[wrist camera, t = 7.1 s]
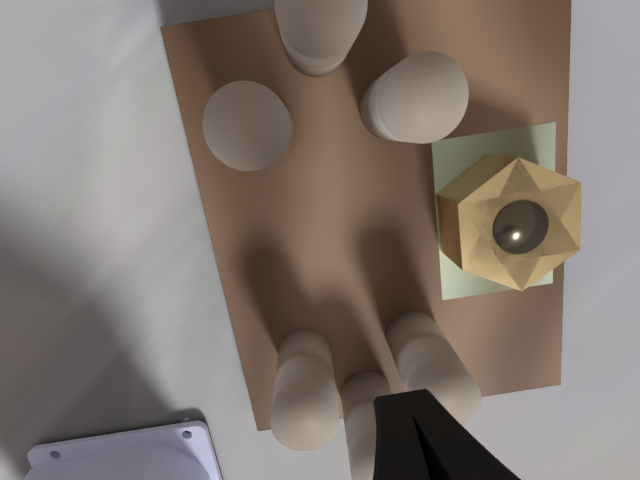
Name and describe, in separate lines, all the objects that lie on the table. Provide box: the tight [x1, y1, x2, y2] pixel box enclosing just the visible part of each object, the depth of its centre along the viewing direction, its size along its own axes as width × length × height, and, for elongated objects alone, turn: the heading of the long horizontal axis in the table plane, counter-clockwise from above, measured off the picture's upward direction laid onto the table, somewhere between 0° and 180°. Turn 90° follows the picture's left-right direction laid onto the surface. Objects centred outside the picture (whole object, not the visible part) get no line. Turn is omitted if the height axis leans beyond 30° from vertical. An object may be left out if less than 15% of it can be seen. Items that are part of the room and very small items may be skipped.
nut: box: [436, 153, 581, 291], centre depth 15 cm, size 4×5×2 cm
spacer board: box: [160, 0, 571, 480], centre depth 15 cm, size 15×18×6 cm
